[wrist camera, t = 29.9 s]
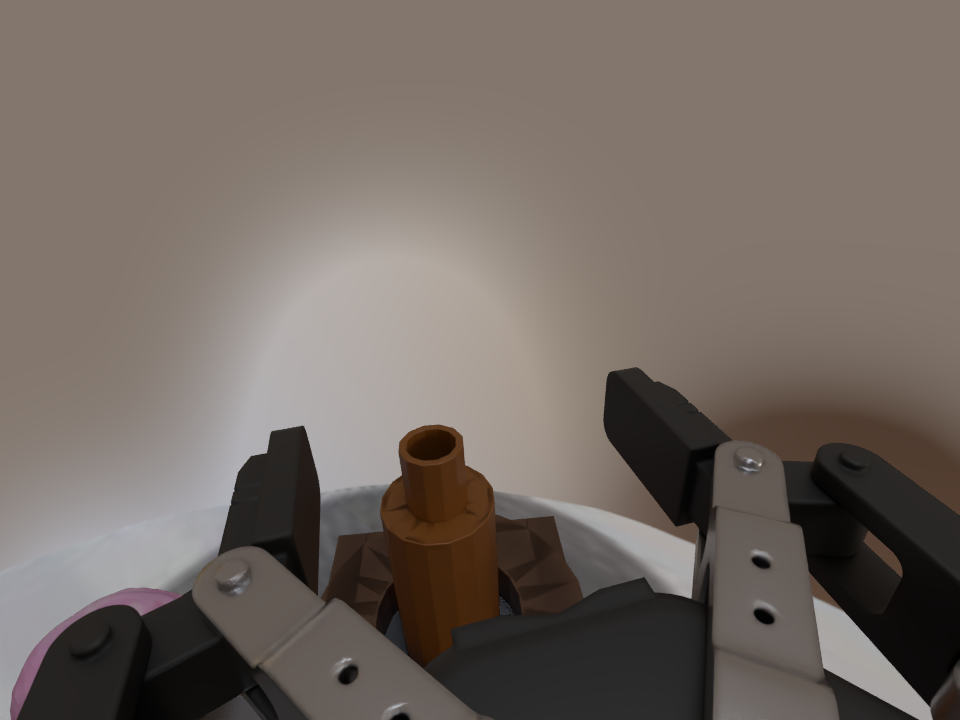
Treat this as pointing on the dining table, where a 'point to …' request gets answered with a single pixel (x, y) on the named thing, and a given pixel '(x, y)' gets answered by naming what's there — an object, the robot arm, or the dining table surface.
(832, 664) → the dining table surface
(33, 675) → the cupcake
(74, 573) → the dining table surface
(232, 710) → the dining table surface
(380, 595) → the board
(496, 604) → the bottle
